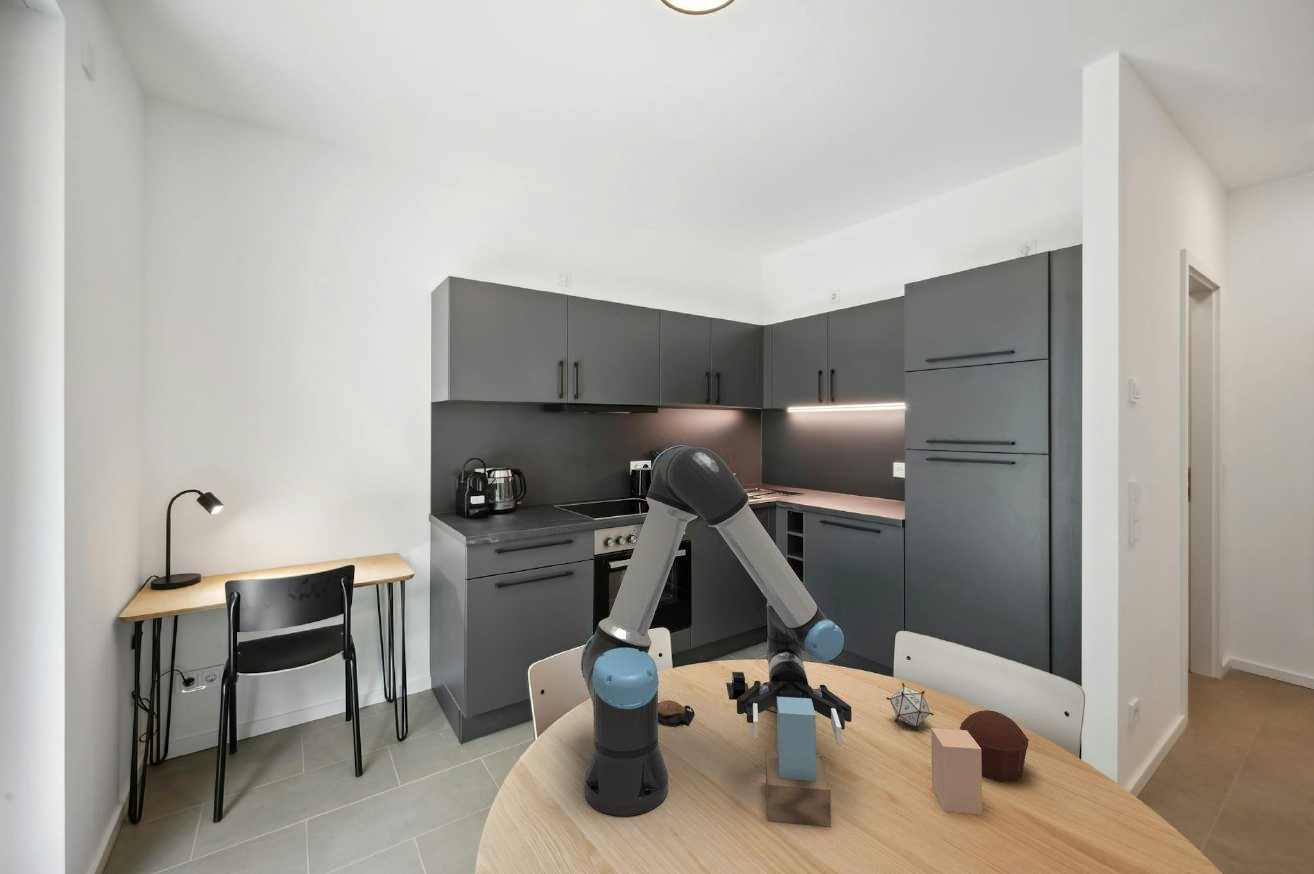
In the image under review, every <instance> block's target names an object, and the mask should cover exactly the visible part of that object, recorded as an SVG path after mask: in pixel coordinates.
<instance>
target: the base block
mask: <svg viewBox="0 0 1314 874" xmlns="http://www.w3.org/2000/svg"><path fill="white" fill-rule="evenodd" d="M765 788H766V789H765V790H766V805H767V807H766V809H767V821H768V822H777V823H788V824H796V825H798V824H800V825H809V826H819V827H830V828H831V827H832V823H831V822H832V818H831V817H832V814H831V813H832V811H831V810H832V809H831V807H832V806H831V802H832V801H831V800H832V799H831V796H832V795H831V786H830V782H829V778H828V774H827V770H826V765H825V761H824V758H823V755H822V754H821V755H820V754H816V781H807V780H795V779H783V778H779V768H778V759H777V751H769V750H766V751H765Z"/></svg>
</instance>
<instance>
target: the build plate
mask: <svg viewBox="0 0 1314 874" xmlns="http://www.w3.org/2000/svg"><path fill="white" fill-rule="evenodd" d="M725 685H726V690H727V695H728V699H729V701H730V700H731V701H734V700H735V701H737V699H738V698H739V697H740V696H741V695H742V694H744V693H745V692H746V691H747V690H748V689H750V687H749V685H748V682H746V677H745V673H744V671H732V672H731V682H726V683H725Z"/></svg>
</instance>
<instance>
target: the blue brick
mask: <svg viewBox="0 0 1314 874" xmlns="http://www.w3.org/2000/svg"><path fill="white" fill-rule="evenodd" d="M816 720H817V719H816V711H814V707H813V703H812V699H808V698H791V697H777V712H776V736H777V737H776V745H777V746H776V747H777V748H776V752H777V759H778V768H779V778H783V779H795V780H807V781H816V755H817V738H816V737H817V733H816V732H817V731H816V730H817V721H816Z"/></svg>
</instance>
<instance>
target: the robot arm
mask: <svg viewBox="0 0 1314 874" xmlns="http://www.w3.org/2000/svg"><path fill="white" fill-rule="evenodd" d="M650 480H651V484H650V486H649V488H648V491H647V494H646V497H645V499H646V502H647V504H648V508H649V509H648V511H647V515H646V517H645V519H644V522H643V525H642V527H641V530H640V533H639V535H638V537H637V540H636V543H635V547H634V548H633V552H632V553H631V557H630V559H629V562H628V565H627V567H626V570H625V573H624V575H623V578H622V581H621V585H620V587H619V588H618V591H617V595H616V597H615V599H614V603H613V605H612V608H611V610H610V614H609V616H608V617H605V618H603V619H602V620H600V621H599V622H598V624H597V627H596V630H595V633H594V634H593V635H592V636H590V638H589V639H588V640H587V641H586V643H585V645H584V647H583V649H582V652H581V657H580V658H581V659H580V668H581V673H582V677H583V680H584V681H585V685H586V688H587V690H588V693H589V696H590V699H591V700H590V701H591V702H592V708H593V709H592V710H593V750H592V752H591V756H590V759H589V762H588V766H587V768H586V769H587V770H586V773H585V775H584V796H585V799H586V801H587V802H588V804H589V805H590V806H591V807H592V808H593V809H595V810H597V811H599V812H601V813H604V814H607V815H611V816H617V817H619V816H620V817H628V816H629V817H631V816H637V815H641V814H644V813H647V812H649V811H651V810H654V809H655V808H657V807H658V806H659V805H661V803H663V801H664V800H665V799H666V797H667V795H668V792H669V774H668V770H667V766H666V764H665V761H664V760H665V759H664V758H663V754H662V751H661V748H660V745H659V725H658V703H659V694H658V693H659V691H658V690H659V684H660V683H659V674H658V669H657V664H656V662H655V660H654V658H653V657H652V656H651V655H649V651H650V648H651V645H652V640H651V637H650V635H649V629H650V627H651V625H652V621H653V619H654V615H655V613H656V610H657V608H658V605H659V601H660V600H661V597H662V594H663V591H664V588H665V586H666V583H667V580H668V578H669V574H670V571H671V569H672V566H673V564H674V560H675V558H676V556H677V553H678V551H679V547H680V545H681V543H682V539H683V536H684V534H685V532H686V529H687V526H688V523H689V522H691V521H693V520H695V519H697V518H698V517H699V516H700V517H701V518H702V519H703V521H704V522H705V524H706V525H707V526H708V527H710V528H716V530H717V531H718V533H719V534H720V535H721V537H722V538H723V540H724V541H725V542H726V544H727V545H728V546H729V548H730V549H731V551H732V552H733V553H734V555H735V556H736V557H737V559H738V560H739V562H740V563H741V565H742V566H743V568H744V569H745V571H747V573H748V574H749V576H750V578H751V579H752V580H753V582H754V583H755V584H756V586H757V587H758V588H759V590H760V591H761V593H762V594H763V596H764V597H765V598H766V616H767V617H766V618H767V619H766V620H767V621H766V622H767V624H766V625H767V638H766V639H767V648H766V660H767V665H768V666H767V667H768V679H769V681H770V684H769V685H768V686H764V685H762V684H763V683H761V681H760V680H755V681H754V682H753V685H752V686H751V687H749V689H748V690H747V691H746V692H745V693H744V694H742V695H741V696H740V697H739V698H738V699H737V700H736V713H737V714H738V715H743V714H746V723H748V724H753V738H759V715H758V714H760V713H762V712H764V711H766V710H768V708H770V707H772V706H773V707H777V697H791V698H808V699H812V703H813V707H814V711H815V713H819V714H820V715H822V716H824V717H826V718H827V719H829V720H830V724H831V728H832V731H833V734H834V737H835V742H836V744H842V743H843V742H842V741H843V740H842V739H843V738H842V737H843V736H842V735H843V734H842V733H843V732H842V731H844V730H845V729H846V722H847V723H851V722H852V715H853V714H852V706H851V705H850V704H849V703H847V702H846V701H844V700H842V698H840V697H838V696H837V694H834V693H833V692H832V691H830V690H829V689H828V687H827V686H826V685H825V684H819V687H817V688H813V687H812V686H810V685H809V681H808V676H807V673H806V668H805V666H804V661H803V650H804V651H805V652H806V653H807V654H808V655H809V656H811V657H814V658H815V659H817V660H820V661H825V662H826V661H827V662H828V661H831V660H833V659H835V658H836V657H838V655H840V653H841V652H842V650H843V647H844V644H845V636H844V632H843V631H842V629H841V628H840V627H839V626H838V625H837V624H836V623H835V621H832V620H831V619H828V618H827V617H826V615H825V614H824V613H823V611H822V610H821V608H820V607H819V606H818V604H817V603H816V601H815V600H814V598H813V597H812V595H810V593H809V592H808V590H807V588H806V587H805V585H804V584H803V582H802V581H801V580H800V579H799V577H798V575H797V574H796V572H795V571H794V570H793V568H792V567H791V565H790V564H789V562H788V561H787V560H786V558H785V557H784V555H783V553H782V552H781V551H780V550H779V548H778V547H777V545H776V543H775V542H774V541H773V539H772V538H771V536H770V534H769V533H768V532H767V530H766V529H765V527H764V525H762V523H761V521H760V520H759V519H758V518H757V516H756V514H755V513H754V512H753V510H752V509H751V507H750V506H749V503H750V496H749V494H748V492H747V491H745V489H744V488H743V486H742V485H741V483H740V482H739V480H738V479H737V477H736V475H735V474H734V473H733V472H732V470H731V468H730V467H729V466H728V465H727V463H726V462H725V461H724V460H723V458H721V456H719V454H717V453H715V452H714V451H713V450H712V449H709V448H706V447H702V446H690V445H689V446H688V445H675V446H672V447H669V448H667V449H665V450H663V451H662V452H661V453H659V454H658V456H656V458H655V460H654V461H653V463H652V466H651V470H650Z"/></svg>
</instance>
